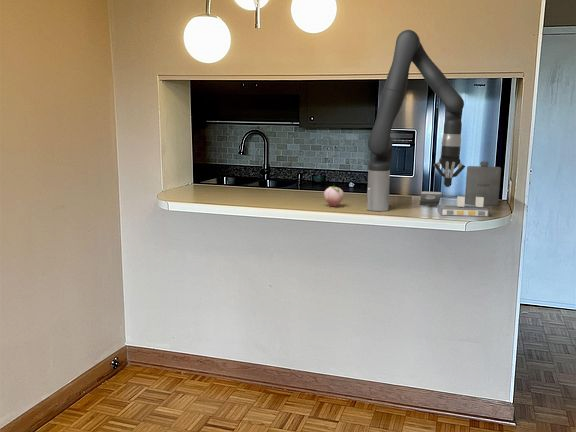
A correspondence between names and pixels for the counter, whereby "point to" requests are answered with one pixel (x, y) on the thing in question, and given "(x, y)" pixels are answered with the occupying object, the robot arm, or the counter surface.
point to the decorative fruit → (333, 195)
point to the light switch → (430, 198)
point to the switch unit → (463, 211)
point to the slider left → (460, 201)
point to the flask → (482, 184)
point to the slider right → (479, 201)
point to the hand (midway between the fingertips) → (447, 186)
